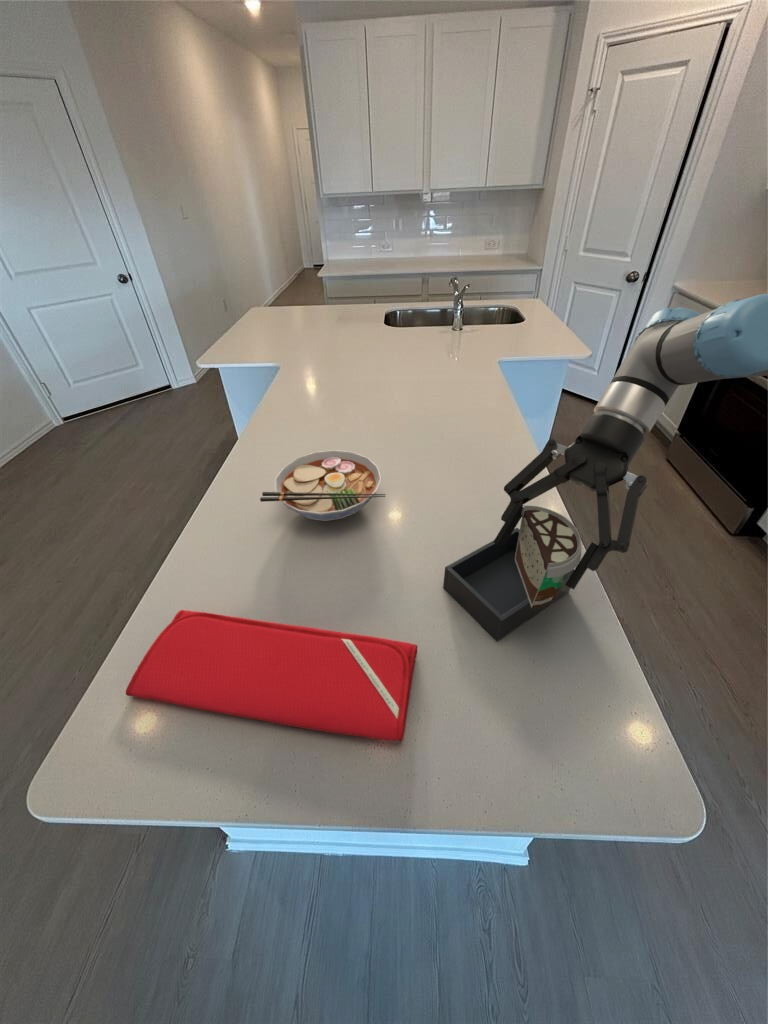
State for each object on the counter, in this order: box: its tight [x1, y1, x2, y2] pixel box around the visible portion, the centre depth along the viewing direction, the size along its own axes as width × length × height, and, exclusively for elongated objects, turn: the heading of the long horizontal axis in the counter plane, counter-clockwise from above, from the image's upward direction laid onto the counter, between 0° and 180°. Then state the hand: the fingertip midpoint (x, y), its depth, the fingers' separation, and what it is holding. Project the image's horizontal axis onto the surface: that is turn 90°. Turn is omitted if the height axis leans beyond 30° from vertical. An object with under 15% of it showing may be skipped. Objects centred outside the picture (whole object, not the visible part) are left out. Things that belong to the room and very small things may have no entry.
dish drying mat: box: [125, 609, 418, 742], centre depth 66 cm, size 16×41×4 cm, turn 79°
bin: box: [442, 527, 575, 642], centre depth 77 cm, size 14×18×6 cm
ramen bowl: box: [259, 449, 386, 522], centre depth 96 cm, size 25×23×8 cm
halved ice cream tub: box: [515, 505, 583, 608], centre depth 61 cm, size 12×6×10 cm, turn 1°
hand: (532, 564), depth 61 cm, fingers closed on halved ice cream tub, 11 cm apart
